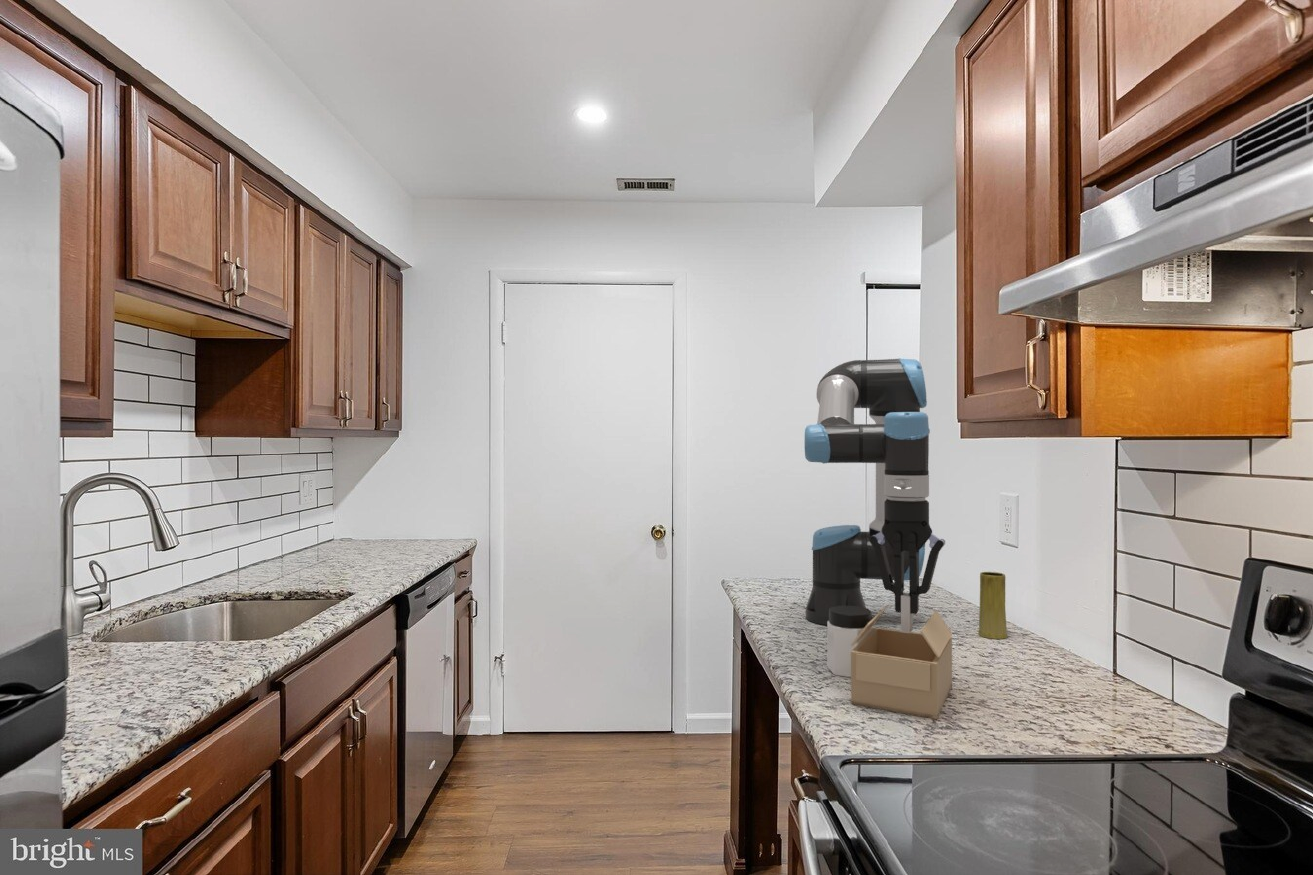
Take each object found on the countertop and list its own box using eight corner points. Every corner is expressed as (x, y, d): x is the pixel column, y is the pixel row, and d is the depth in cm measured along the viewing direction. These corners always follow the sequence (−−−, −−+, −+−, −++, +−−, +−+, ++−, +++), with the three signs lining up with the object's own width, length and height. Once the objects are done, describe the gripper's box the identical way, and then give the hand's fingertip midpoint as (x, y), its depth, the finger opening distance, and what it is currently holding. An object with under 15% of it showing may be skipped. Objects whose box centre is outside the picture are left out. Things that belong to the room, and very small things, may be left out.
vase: (1004, 640, 164) (1004, 577, 164) (975, 636, 167) (975, 574, 167) (1009, 634, 169) (1009, 573, 169) (981, 630, 172) (981, 570, 172)
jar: (850, 681, 137) (850, 617, 137) (818, 669, 144) (818, 609, 144) (882, 672, 142) (882, 611, 142) (850, 661, 149) (849, 603, 149)
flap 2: (934, 610, 135) (936, 610, 135) (951, 634, 134) (952, 633, 134) (919, 631, 121) (921, 630, 121) (937, 657, 120) (939, 656, 120)
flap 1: (873, 624, 141) (872, 623, 141) (888, 605, 139) (887, 604, 139) (852, 646, 127) (850, 644, 127) (868, 625, 125) (867, 623, 125)
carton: (875, 673, 142) (875, 626, 142) (952, 684, 135) (952, 636, 135) (850, 704, 125) (850, 652, 125) (936, 720, 119) (936, 664, 119)
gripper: (864, 498, 130) (864, 631, 130) (942, 501, 123) (942, 641, 123) (874, 495, 136) (874, 621, 136) (948, 498, 130) (948, 630, 130)
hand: (906, 630), depth 130 cm, fingers closed
